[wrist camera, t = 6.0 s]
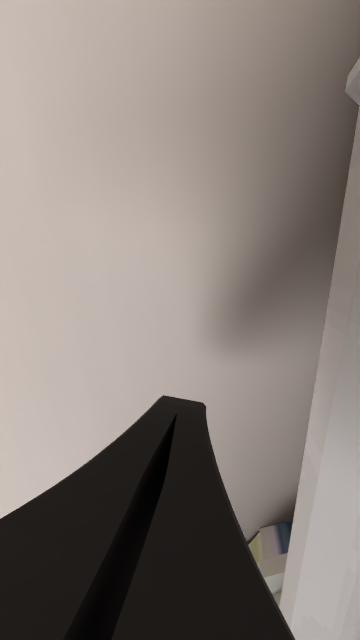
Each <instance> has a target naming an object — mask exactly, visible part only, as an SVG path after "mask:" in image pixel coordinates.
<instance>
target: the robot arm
mask: <svg viewBox="0 0 360 640" xmlns="http://www.w3.org/2000/svg"><path fill="white" fill-rule="evenodd" d="M0 640H295V638H294V636H293V634H292V632H291V630H290V628H289V626H288V624H287V622H286V620H285V618H284V616H283V614H282V612H281V610H280V609H279V607H278V605H277V603H276V601H275V599H274V597H273V595H272V593H271V591H270V589H269V587H268V585H267V583H266V581H265V579H264V577H263V576H262V574H261V572H260V570H259V567H258V565H257V563H256V561H255V559H254V557H253V554H252V552H251V550H250V548H249V546H248V544H247V541H246V539H245V537H244V535H243V532H242V530H241V528H240V525H239V523H238V521H237V518H236V516H235V513H234V511H233V508H232V506H231V503H230V501H229V498H228V495H227V493H226V490H225V487H224V484H223V481H222V478H221V476H220V472H219V469H218V466H217V463H216V459H215V456H214V452H213V449H212V445H211V441H210V437H209V432H208V426H207V420H206V406H205V405H204V403H202V402H196V401H191V400H186V399H180V398H175V397H169V396H164V395H163V396H162V397H160V398H159V399H158V400H157V401H156V402H155V403H154V404H153V405H152V407H151V408H150V409H149V410H148V411H147V412H146V413H145V414H144V415H142V416H141V417H140V418H139V419H138V420H137V421H136V422H135V423H134V424H133V425H132V426H131V427H130V428H128V429H127V430H126V431H125V432H124V433H123V434H122V435H121V436H120V437H118V438H117V439H116V440H115V441H114V442H112V443H111V444H110V445H109V446H107V447H106V448H105V449H104V450H102V451H101V452H100V453H99V454H97V455H96V456H95V457H94V458H93V459H91V460H90V461H89V462H87V463H86V464H85V465H83V466H82V467H80V468H79V469H78V470H76V471H75V472H74V473H72V474H71V475H69V476H68V477H66V478H65V479H63V480H62V481H60V482H59V483H58V484H56V485H55V486H53V487H52V488H50V489H48V490H47V491H45V492H44V493H42V494H40V495H39V496H37V497H36V498H34V499H32V500H31V501H29V502H28V503H26V504H24V505H23V506H21V507H20V508H18V509H16V510H15V511H13V512H11V513H10V514H8V515H6V516H4V517H3V518H1V519H0Z"/></svg>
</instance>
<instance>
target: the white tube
mask: <svg viewBox="0 0 360 640" xmlns="http://www.w3.org/2000/svg"><path fill="white" fill-rule="evenodd" d="M345 93H346V94H347V95H349V96H350V97H351V98H352V99H353V100H354V101H355V102H356V103H357V104H358V105H359V111H358V118H357V124H356V130H355V136H354V143H353V149H352V155H351V161H350V168H349V174H348V180H347V186H346V193H345V199H344V205H343V211H342V218H341V224H340V230H339V237H338V243H337V249H336V255H335V262H334V268H333V274H332V280H331V287H330V293H329V299H328V305H327V312H326V318H325V324H324V330H323V337H322V343H321V349H320V355H319V362H318V368H317V374H316V380H315V387H314V393H313V399H312V406H311V412H310V418H309V424H308V431H307V437H306V443H305V449H304V456H303V462H302V468H301V474H300V481H299V487H298V493H297V499H296V506H295V512H294V518H293V524H292V523H287V522H284V523H280V524H276V525H272V526H268V527H263V528H259V529H260V532H259V533H258V534H257V536H256V537H255V538H254V539H253V540H252V541H251V542H250V544H249V545H248V546H249V548H250V550H251V552H252V554H253V557H254V559H255V561H256V563H257V565H258V567H259V570H260V572H261V574H262V576H263V577H264V579H265V581H266V583H267V585H268V587H269V589H270V591H271V593H272V595H273V597H274V599H275V601H276V603H277V605H278V607H279V609H280V610H281V612H282V614H283V616H284V618H285V620H286V622H287V624H288V626H289V628H290V630H291V632H292V634H293V636H294V638H295V640H360V57H359V59H358V60H357V62H356V64H355V65H354V67H353V68H352V70H351V72H350V73H349V75H348V77H347V82H346V88H345Z"/></svg>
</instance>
